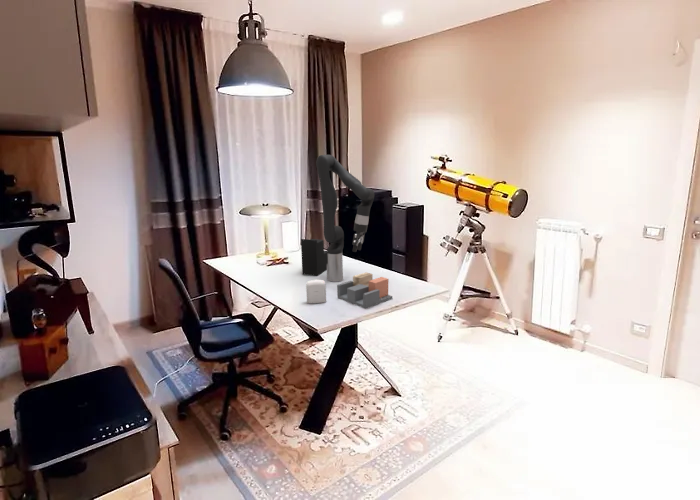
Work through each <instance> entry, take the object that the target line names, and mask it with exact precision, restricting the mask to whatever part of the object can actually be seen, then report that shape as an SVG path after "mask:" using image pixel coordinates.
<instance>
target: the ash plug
mask: <svg viewBox="0 0 700 500" xmlns="http://www.w3.org/2000/svg"><path fill="white" fill-rule="evenodd" d="M370 280H373V274H372V273H369V272H367V271H366V272H362V273H358V274H356V275H353V276H352V281H353V286H356V285H359V284H363V285H366V286H369V281H370Z"/></svg>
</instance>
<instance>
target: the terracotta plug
mask: <svg viewBox="0 0 700 500" xmlns="http://www.w3.org/2000/svg"><path fill="white" fill-rule="evenodd" d="M376 289H378V290H380V298H381V297H384V296H386V295H389V278H387V277H384V276H379V277H377V278H374V279H373V278H372V280H370V281H369V292H370V291H373V290H376Z"/></svg>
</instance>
